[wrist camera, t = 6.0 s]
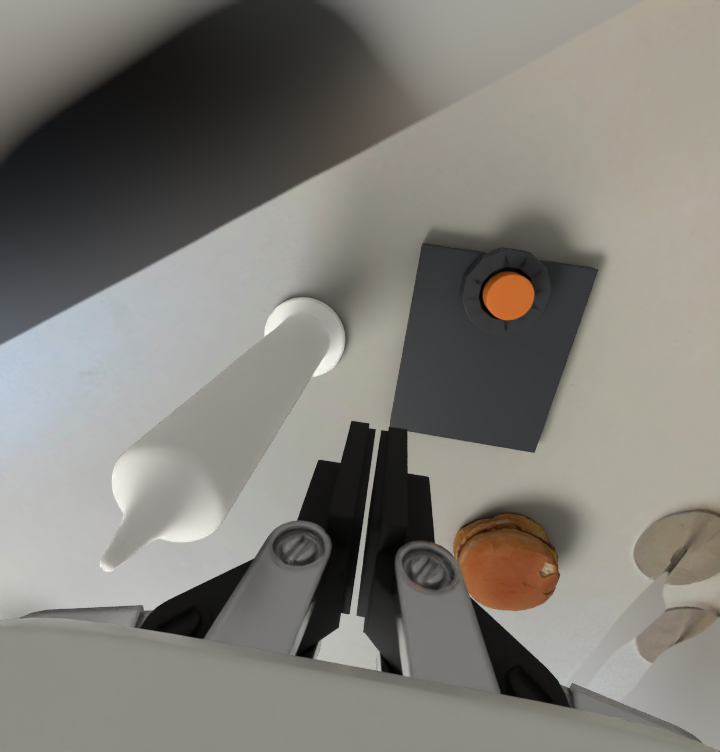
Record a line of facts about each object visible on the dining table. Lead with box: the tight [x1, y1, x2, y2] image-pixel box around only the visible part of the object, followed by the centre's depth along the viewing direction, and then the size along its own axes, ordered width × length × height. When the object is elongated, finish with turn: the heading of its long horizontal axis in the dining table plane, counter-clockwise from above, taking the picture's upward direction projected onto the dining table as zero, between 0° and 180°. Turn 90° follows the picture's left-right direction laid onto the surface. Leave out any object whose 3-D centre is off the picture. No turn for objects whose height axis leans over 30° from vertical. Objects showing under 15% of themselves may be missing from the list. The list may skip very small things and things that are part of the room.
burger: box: [453, 514, 560, 611], centre depth 39 cm, size 10×9×5 cm
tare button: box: [483, 271, 535, 320], centre depth 28 cm, size 3×3×2 cm
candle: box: [100, 297, 345, 572], centre depth 23 cm, size 7×7×25 cm
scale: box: [390, 243, 598, 453], centre depth 32 cm, size 16×13×3 cm
